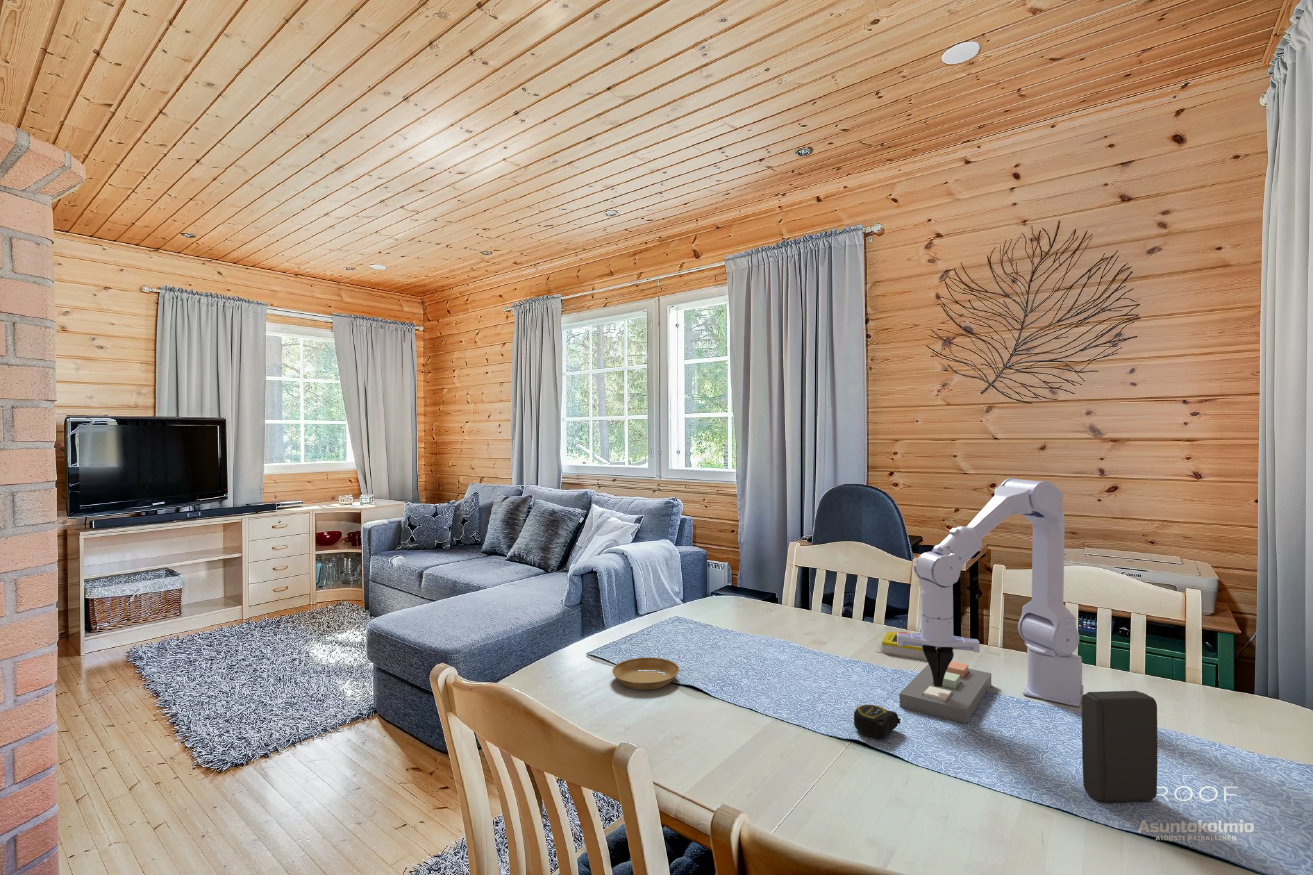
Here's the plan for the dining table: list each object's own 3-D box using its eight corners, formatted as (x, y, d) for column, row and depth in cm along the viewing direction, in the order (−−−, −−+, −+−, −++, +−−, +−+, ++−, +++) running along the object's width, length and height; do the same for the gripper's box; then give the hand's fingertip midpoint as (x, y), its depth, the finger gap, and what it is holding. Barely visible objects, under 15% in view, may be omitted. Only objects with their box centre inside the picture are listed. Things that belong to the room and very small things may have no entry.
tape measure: (883, 745, 107) (883, 724, 107) (846, 732, 112) (846, 711, 112) (900, 732, 112) (900, 711, 111) (864, 719, 116) (864, 699, 116)
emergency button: (881, 625, 160) (945, 634, 152) (881, 642, 160) (945, 652, 152) (874, 636, 152) (941, 645, 144) (874, 653, 152) (941, 664, 144)
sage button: (960, 687, 127) (960, 674, 127) (955, 693, 123) (955, 681, 123) (939, 682, 129) (939, 670, 129) (934, 688, 126) (933, 676, 126)
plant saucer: (603, 691, 131) (603, 679, 131) (623, 666, 145) (623, 654, 145) (671, 697, 127) (671, 685, 127) (685, 670, 142) (685, 659, 142)
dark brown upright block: (1139, 787, 93) (1138, 687, 93) (1161, 803, 89) (1160, 698, 89) (1079, 789, 93) (1078, 689, 93) (1099, 805, 89) (1098, 700, 89)
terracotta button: (968, 676, 132) (968, 664, 132) (963, 682, 129) (963, 670, 129) (948, 671, 135) (948, 660, 135) (943, 677, 131) (943, 665, 131)
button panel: (991, 684, 131) (991, 673, 131) (966, 723, 114) (966, 709, 114) (931, 671, 139) (931, 660, 139) (899, 706, 122) (899, 693, 121)
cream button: (951, 703, 121) (951, 690, 121) (945, 711, 118) (945, 697, 118) (929, 698, 124) (929, 685, 124) (923, 705, 121) (923, 692, 121)
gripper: (974, 612, 122) (975, 680, 122) (895, 606, 127) (896, 673, 127) (981, 622, 116) (982, 695, 116) (898, 616, 120) (898, 686, 120)
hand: (937, 684), depth 121 cm, fingers closed
